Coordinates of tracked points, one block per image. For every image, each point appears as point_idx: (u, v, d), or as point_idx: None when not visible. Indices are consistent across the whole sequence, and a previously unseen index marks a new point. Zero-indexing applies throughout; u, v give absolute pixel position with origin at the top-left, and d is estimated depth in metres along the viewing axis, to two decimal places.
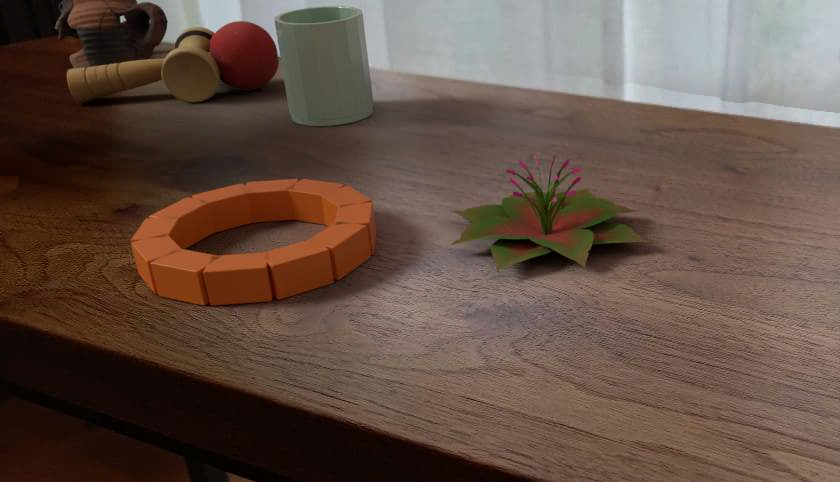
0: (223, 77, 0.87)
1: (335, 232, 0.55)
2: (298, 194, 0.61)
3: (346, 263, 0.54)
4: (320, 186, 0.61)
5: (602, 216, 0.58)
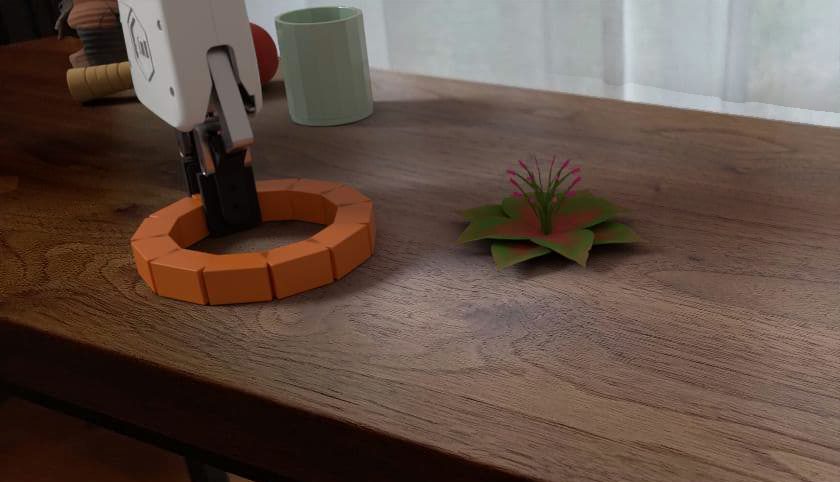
0: None
1: (335, 231, 0.55)
2: (298, 194, 0.61)
3: (346, 262, 0.55)
4: (320, 186, 0.61)
5: (602, 216, 0.58)
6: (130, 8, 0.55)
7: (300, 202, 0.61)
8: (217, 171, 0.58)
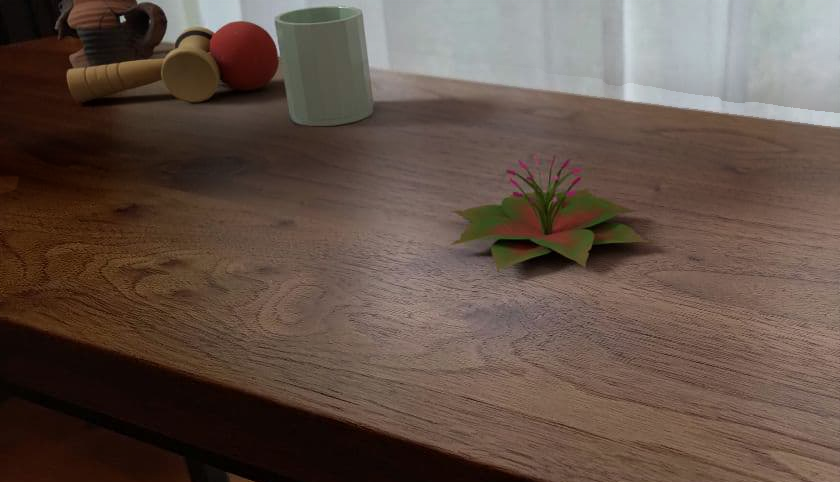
0: (223, 77, 0.87)
1: None
2: None
3: None
4: None
5: (602, 216, 0.58)
6: None
7: None
8: None
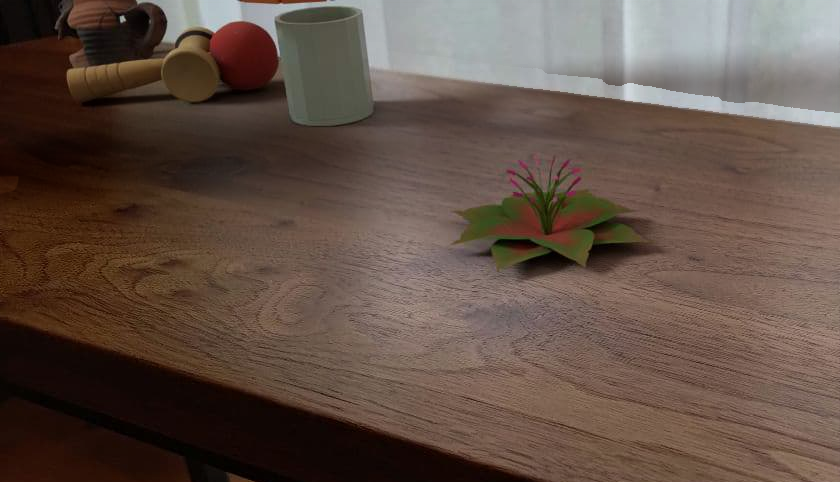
0: (223, 77, 0.87)
1: None
2: None
3: None
4: None
5: (602, 216, 0.58)
6: None
7: None
8: None
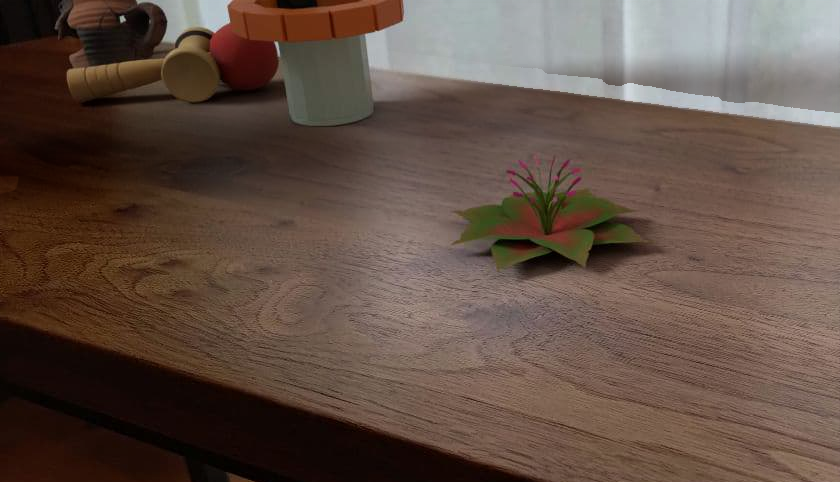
0: (223, 77, 0.87)
1: None
2: None
3: (384, 19, 0.75)
4: None
5: (602, 216, 0.58)
6: None
7: None
8: None
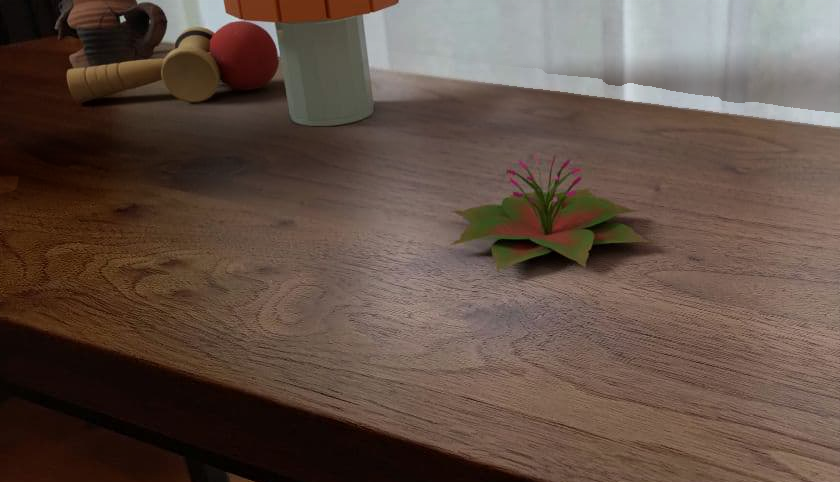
0: (223, 77, 0.87)
1: None
2: None
3: (379, 1, 0.75)
4: None
5: (602, 216, 0.58)
6: None
7: None
8: None
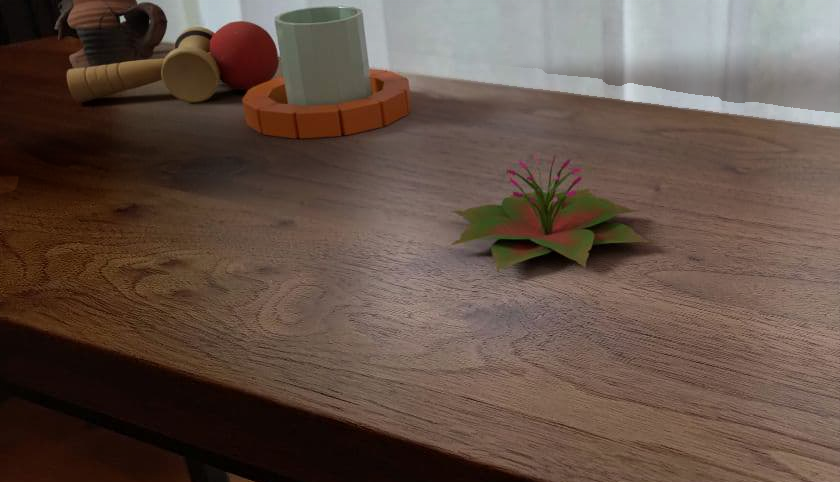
0: (223, 77, 0.87)
1: (383, 94, 0.79)
2: None
3: (391, 114, 0.79)
4: (370, 71, 0.86)
5: (602, 216, 0.58)
6: None
7: None
8: None
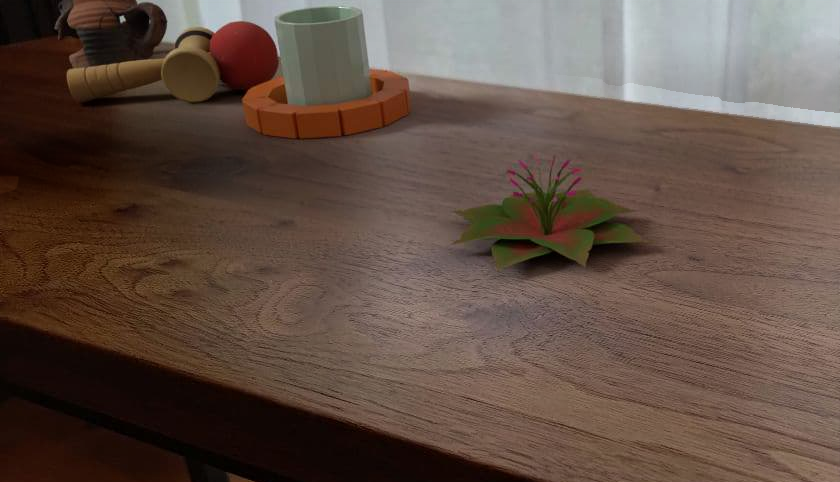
0: (223, 77, 0.87)
1: (383, 94, 0.79)
2: None
3: (391, 114, 0.79)
4: (370, 71, 0.86)
5: (602, 216, 0.58)
6: None
7: None
8: None
